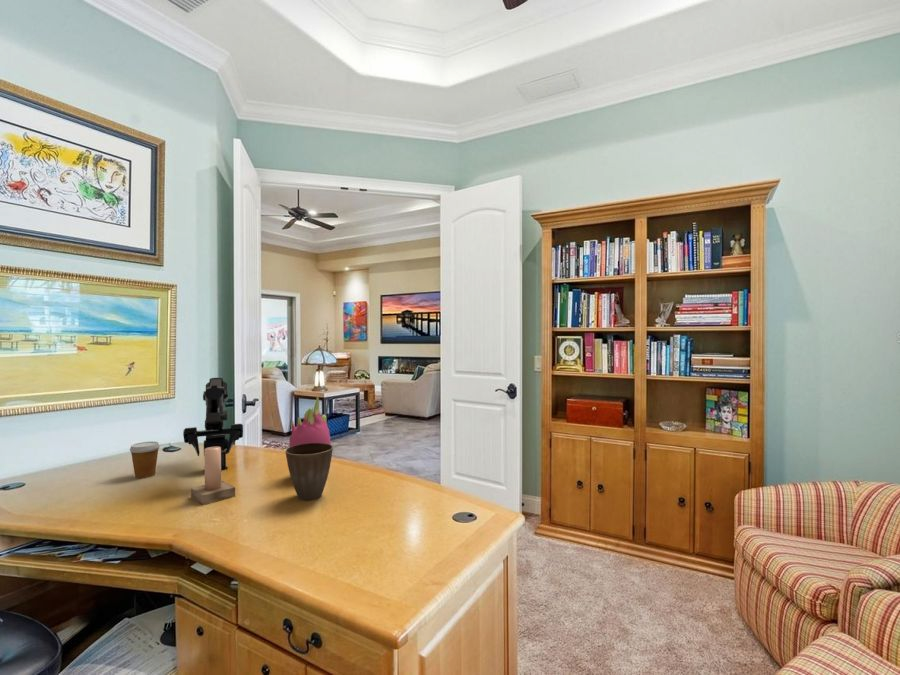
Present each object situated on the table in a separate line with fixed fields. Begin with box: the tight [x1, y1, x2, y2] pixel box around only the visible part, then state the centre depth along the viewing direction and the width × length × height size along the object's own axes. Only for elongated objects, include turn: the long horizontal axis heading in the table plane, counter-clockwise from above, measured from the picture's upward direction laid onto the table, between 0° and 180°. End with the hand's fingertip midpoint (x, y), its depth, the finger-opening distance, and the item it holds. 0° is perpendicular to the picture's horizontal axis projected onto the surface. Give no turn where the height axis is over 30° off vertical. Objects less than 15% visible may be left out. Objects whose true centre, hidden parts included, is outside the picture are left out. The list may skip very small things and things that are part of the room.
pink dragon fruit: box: [288, 396, 332, 448], centre depth 169 cm, size 18×14×30 cm
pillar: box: [203, 446, 222, 490], centre depth 148 cm, size 5×5×13 cm
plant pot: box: [285, 443, 334, 501], centre depth 148 cm, size 15×15×16 cm
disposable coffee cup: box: [129, 441, 161, 479], centre depth 170 cm, size 10×10×12 cm
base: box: [190, 480, 236, 506], centre depth 148 cm, size 10×10×3 cm
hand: (213, 453), depth 155 cm, fingers open, 9 cm apart
